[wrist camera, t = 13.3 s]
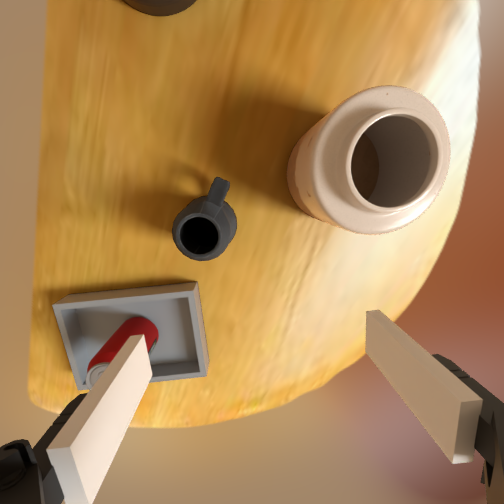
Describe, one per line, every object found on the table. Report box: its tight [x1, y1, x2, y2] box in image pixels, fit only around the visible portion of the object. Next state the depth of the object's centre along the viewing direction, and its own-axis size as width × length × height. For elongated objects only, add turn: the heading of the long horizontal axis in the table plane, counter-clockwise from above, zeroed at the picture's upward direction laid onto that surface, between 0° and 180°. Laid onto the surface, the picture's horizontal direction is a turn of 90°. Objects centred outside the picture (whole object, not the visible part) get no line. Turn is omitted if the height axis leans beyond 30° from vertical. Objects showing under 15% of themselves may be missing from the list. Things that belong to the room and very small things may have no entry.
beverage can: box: [86, 317, 159, 390], centre depth 39 cm, size 7×7×12 cm
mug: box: [172, 177, 237, 261], centre depth 36 cm, size 12×9×11 cm
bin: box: [52, 282, 209, 390], centre depth 44 cm, size 16×22×4 cm
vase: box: [287, 85, 450, 235], centre depth 33 cm, size 15×15×17 cm
